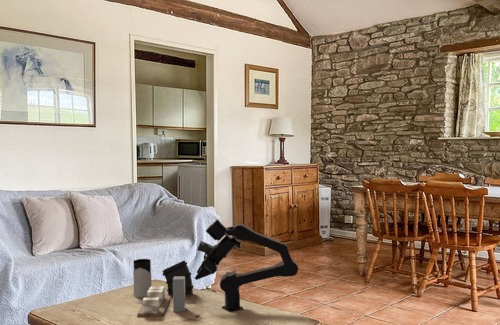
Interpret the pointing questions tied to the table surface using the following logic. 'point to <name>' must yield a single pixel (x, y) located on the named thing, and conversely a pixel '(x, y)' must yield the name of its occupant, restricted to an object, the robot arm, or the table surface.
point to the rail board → (160, 312)
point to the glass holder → (142, 277)
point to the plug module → (178, 293)
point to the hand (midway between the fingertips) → (196, 275)
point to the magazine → (178, 270)
